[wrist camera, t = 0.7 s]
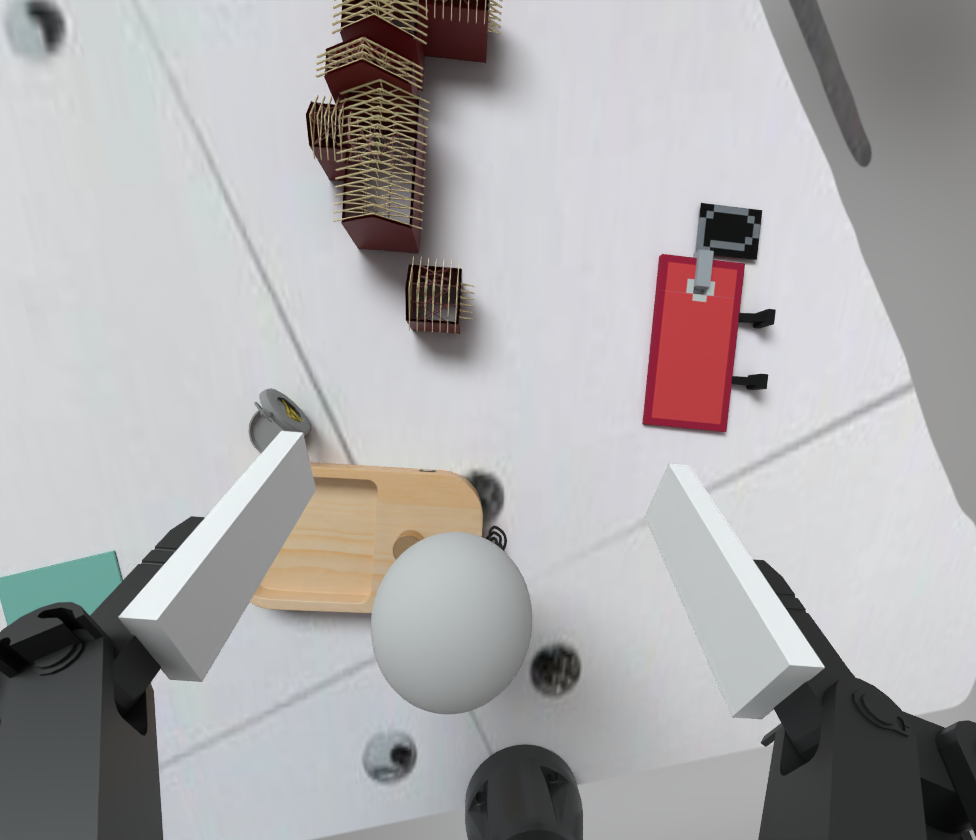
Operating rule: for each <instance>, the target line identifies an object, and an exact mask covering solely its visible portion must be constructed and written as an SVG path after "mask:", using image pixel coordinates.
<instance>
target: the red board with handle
mask: <svg viewBox="0 0 976 840" xmlns="http://www.w3.org/2000/svg"><path fill="white" fill-rule="evenodd" d="M761 217H762V210H755V209H746V208H738V207H730V206H722V205H714V204H705V203H701V207H700V217H699V226H698V235H697V244H696V253H694V255H693V258H692V257H683V256H675V255H666V254H662V255H661V256H659V264H658V274H657V284H656V294H655V304H654V314H653V324H652V334H651V344H650V354H649V364H648V374H647V384H646V394H645V404H644V414H643V424H650V425H660V426H670V427H680V428H691V429H701V430H711V431H721V432H726V429H727V420H728V411H729V402H730V393H731V384H738V385H747V389H750V390H758V389H767V381H768V374H756V375H748V377H737V376H732V375H733V366H734V358H735V349H736V340H737V331H738V322H752V323H754V324H753V328H762V327H766V326H769V325H773V324H774V319H775V310H774V309H767V310H764V311H761V312H758V313H755V314H754V313H740V304H741V295H742V286H743V277H744V268H745V264H743V263H735V262H726V261H718V260H713V255H721V256H730V257H739V258H747V259H756V260H757V253H758V244H759V235H760V226H761ZM694 289H697V290H703V295H701V294H693V290H694Z"/></svg>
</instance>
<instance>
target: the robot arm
mask: <svg viewBox="0 0 976 840" xmlns="http://www.w3.org/2000/svg"><path fill="white" fill-rule="evenodd" d="M315 491H316V487H315V483H314V478H313V474H312V469H311V465H310V461H309V456H308V452H307V447H306V443H305V438H304V434H303V433H302V432H290V431H281V432H280V433H279V434H278V435H277V436H276V437H275V439H274V440H273V441H272V442H271V443H270V444H269V445H268V447H267V448H266V449H265V450H264V451H263V452H262V453H261V455H260V456H259V457H258V458H257V459H256V460H255V461H254V463H253V464H252V465H251V466H250V467H249V468H248V469H247V471H246V472H245V473H244V474H243V475H242V476H241V477H240V479H239V480H238V481H237V482H236V483H235V484H234V485H233V487H232V488H231V489H230V490H229V491H228V492H227V493H226V494H225V496H224V497H223V498H222V499H221V500H220V501H219V502H218V504H217V505H216V506H215V507H214V508H213V509H212V510H211V512H210V513H209V514H208V515H207V516H206V517H193V516H191V517H190V518H188V519H187V520H185V521H184V522H182V523H181V524H179V525H178V526H176V527H175V528H173V529H172V530H170V531H169V532H168V533H167V534H166V536H165V537H164V538H163V539H162V540H161V541H160V542H159V543H158V544H157V545H156V546H155V549H154V550H151V551H150V552H149V554H148V555H147V556H146V557H145V558H144V559H143V560H142V563H141V564H138V565H137V566H136V567H135V568H134V569H133V570H132V572H131V573H130V574H129V575H128V576H127V577H126V578H125V579H124V580H123V581H122V582H121V583H120V584H119V585H118V586H117V587H116V589H115V590H114V591H113V592H112V593H111V594H110V595H109V596H108V597H107V598H106V599H105V600H104V601H103V602H102V603H101V604H100V605H99V607H98V608H97V609H96V610H95V611H94V612H93V613H92V614H91V615H89V614H88V613H87V612H86V611H85V610H84V609H83V608H82V607H81V606H80V605H78V604H75V603H73V602H57V603H54V604H50V605H47V606H44V607H40V608H38V609H36V610H34V611H32V612H30V613H28V614H26V615H24V616H22V617H20V618H19V619H17V620H16V621H14V622H13V623H11V624H10V625H9V626H7V627H6V628H4V629H3V630H2V631H1V632H0V840H163V829H162V813H161V798H160V782H159V766H158V751H157V735H156V719H155V704H154V690H153V688H152V685H151V681H152V680H153V678H154V677H155V676H156V674H157V673H158V671H159V670H160V668H161V670H162V671H163V672H164V673H165V674H166V676H167V677H168V678H169V679H170V680H183V681H198V682H202V681H203V679H204V678H205V676H206V674H207V673H208V671H209V669H210V668H211V666H212V664H213V663H214V661H215V659H216V658H217V656H218V654H219V653H220V651H221V649H222V647H223V646H224V644H225V642H226V641H227V639H228V637H229V636H230V634H231V632H232V631H233V629H234V627H235V626H236V624H237V622H238V621H239V619H240V617H241V615H242V614H243V612H244V610H245V609H246V607H247V605H248V604H249V602H250V600H251V599H252V597H253V595H254V594H255V592H256V590H257V589H258V587H259V585H260V583H261V582H262V580H263V578H264V577H265V575H266V573H267V572H268V570H269V568H270V567H271V565H272V563H273V562H274V560H275V558H276V557H277V555H278V553H279V552H280V550H281V548H282V546H283V545H284V543H285V541H286V540H287V538H288V536H289V535H290V533H291V531H292V530H293V528H294V526H295V525H296V523H297V521H298V520H299V518H300V516H301V514H302V513H303V511H304V509H305V508H306V506H307V504H308V503H309V501H310V499H311V498H312V496H313V494H314V493H315ZM644 517H645V519H646V521H647V524H648V526H649V528H650V530H651V533H652V535H653V537H654V540H655V542H656V544H657V546H658V549H659V551H660V553H661V556H662V558H663V560H664V563H665V565H666V567H667V569H668V572H669V574H670V576H671V579H672V581H673V583H674V586H675V588H676V590H677V592H678V595H679V597H680V599H681V602H682V604H683V606H684V608H685V611H686V613H687V615H688V618H689V620H690V622H691V625H692V627H693V629H694V631H695V634H696V636H697V638H698V641H699V643H700V645H701V648H702V650H703V652H704V654H705V657H706V659H707V661H708V664H709V666H710V668H711V670H712V673H713V675H714V677H715V680H716V682H717V684H718V687H719V689H720V691H721V693H722V696H723V698H724V700H725V703H726V705H727V707H728V709H729V712H730V714H731V716H732V717H736V718H751V719H762V718H764V717H765V716H766V715H767V714H769V713H770V712H771V711H772V710H773V709H774V710H775V712H776V713H777V715H778V717H779V719H780V721H781V724H780V725H778V726H777V727H776V728H774V729H773V730H772V731H770V732H769V733H768V734H766V735H765V736H764V738H763V739H762V741H761V744H763V745H764V746H765V747H766V746H768V745H769V744H770V743H772V742H773V741H774V740H775V741H774V747H773V753H772V759H771V765H770V771H769V778H768V784H767V790H766V796H765V802H764V809H763V814H762V821H761V827H760V833H759V840H973V839H972V837H971V835H970V832H969V831H970V830H973V831H974V833H975V836H976V723H975V722H971V721H959V722H957V723H955V724H953V725H951V726H949V727H947V728H944V727H942V726H939V725H937V724H934V723H931V722H929V721H926V720H923V719H921V718H919V717H916V716H913V715H911V714H908V713H906V712H903V711H902V710H901V709H900V708H899V707H898V706H897V705H896V704H895V703H894V702H893V701H892V700H891V699H890V698H889V697H888V696H887V695H885V694H884V693H883V692H881V691H880V690H879V689H877V688H876V687H875V686H873V685H871V684H869V683H867V682H865V681H863V680H861V679H858V678H855V676H854V675H853V674H852V673H851V671H850V670H849V669H848V668H847V666H846V665H845V663H844V662H843V661H842V659H841V658H840V656H839V655H838V654H837V652H836V651H835V649H834V648H833V647H832V645H831V644H830V643H829V641H828V640H827V638H826V637H825V636H824V634H823V633H822V631H821V630H820V629H819V627H818V626H817V624H816V623H815V622H814V620H813V619H812V617H811V616H810V615H809V613H806V611H805V610H806V609H805V608H804V606H803V605H802V604H801V602H800V601H799V599H798V598H795V594H794V592H793V591H792V590H791V588H790V587H789V585H788V584H787V583H786V581H785V580H784V578H783V577H782V576H781V575H780V574H779V573H778V572H776V571H775V570H774V569H773V568H772V567H771V566H770V565H769V564H768V563H766V562H765V561H764V560H752V558H751V557H750V555H749V554H748V552H747V551H746V549H745V548H744V546H743V545H742V543H741V542H740V540H739V539H738V537H737V536H736V534H735V533H734V531H733V530H732V528H731V527H730V525H729V524H728V522H727V521H726V519H725V518H724V516H723V515H722V513H721V512H720V510H719V509H718V507H717V506H716V504H715V503H714V501H713V500H712V499H711V497H710V496H709V494H708V493H707V491H706V490H705V488H704V487H703V485H702V484H701V482H700V481H699V479H698V478H697V476H696V475H695V473H694V472H693V470H692V469H691V467H690V466H689V465H678V464H668V466H667V468H666V470H665V473H664V475H663V477H662V479H661V481H660V484H659V486H658V488H657V490H656V492H655V495H654V497H653V499H652V501H651V503H650V506H649V508H648V510H647V512H646V514H645V516H644ZM465 824H466V832H467V837H468V840H583V810H582V803H581V798H580V794H579V791H578V787H577V784H576V781H575V778H574V776H573V773H572V772H571V770H570V768H569V767H568V766H567V764H566V763H565V762H564V761H563V760H562V759H561V758H560V757H559V756H557V755H556V754H555V753H553V752H551V751H549V750H547V749H545V748H542V747H539V746H533V745H517V746H512V747H508V748H505V749H503V750H500V751H498V752H496V753H495V754H493V755H492V756H490V757H489V758H488V759H486V760H485V761H484V762H483V763H482V764H481V765H480V767H479V768H478V769H477V770H476V772H475V773H474V775H473V777H472V779H471V781H470V783H469V786H468V789H467V793H466V800H465Z"/></svg>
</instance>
